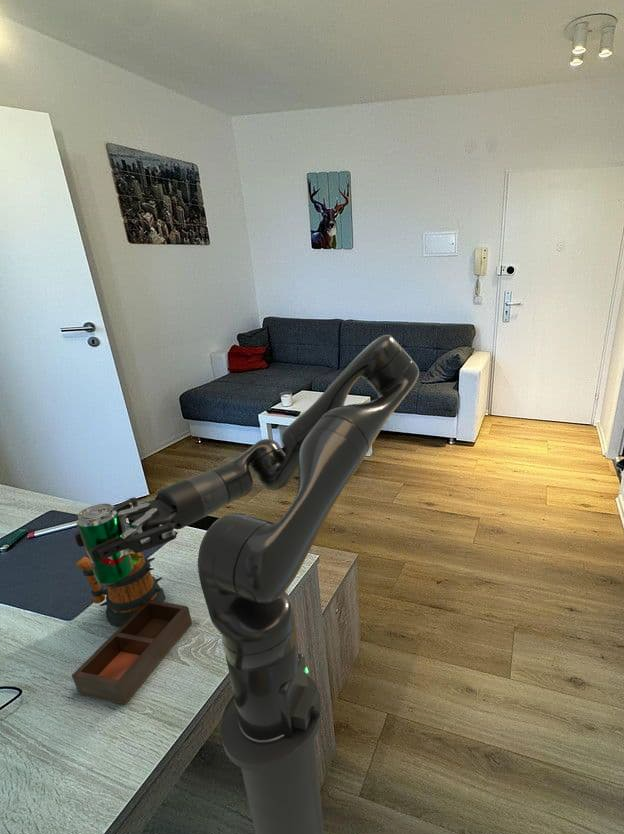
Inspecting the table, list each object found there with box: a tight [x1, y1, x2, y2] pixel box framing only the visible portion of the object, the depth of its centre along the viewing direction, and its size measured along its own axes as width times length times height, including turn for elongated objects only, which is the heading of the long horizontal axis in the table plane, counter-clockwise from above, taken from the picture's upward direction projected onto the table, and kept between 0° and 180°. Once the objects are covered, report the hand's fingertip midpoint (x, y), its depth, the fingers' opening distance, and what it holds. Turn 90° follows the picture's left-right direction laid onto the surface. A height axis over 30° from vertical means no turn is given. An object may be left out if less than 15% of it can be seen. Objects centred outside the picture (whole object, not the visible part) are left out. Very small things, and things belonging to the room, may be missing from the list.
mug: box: [75, 550, 166, 628], centre depth 78 cm, size 13×10×12 cm
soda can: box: [76, 503, 133, 586], centre depth 66 cm, size 5×5×12 cm
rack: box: [71, 599, 193, 706], centre depth 71 cm, size 8×15×4 cm, turn 169°
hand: (84, 547), depth 64 cm, fingers closed on soda can, 5 cm apart
